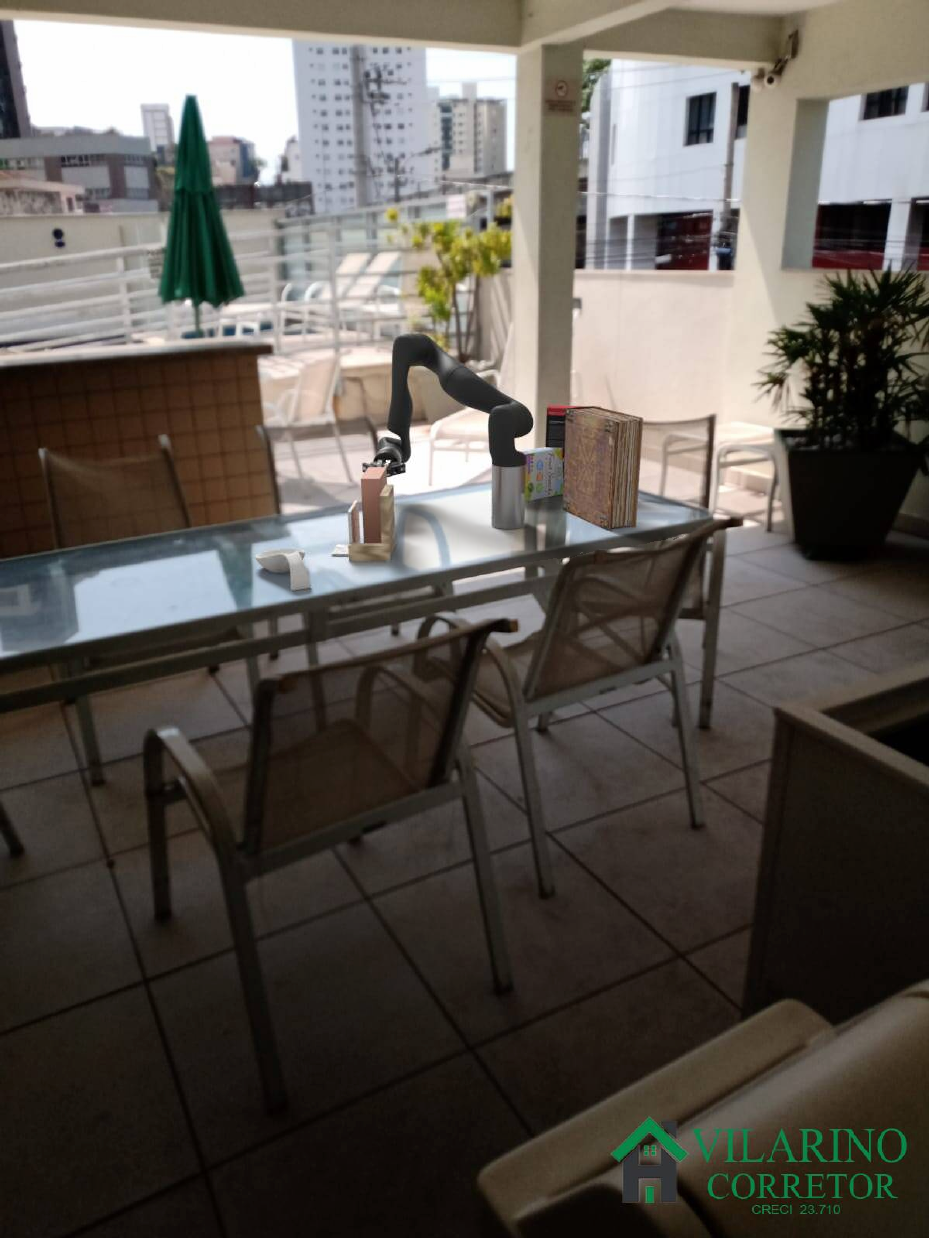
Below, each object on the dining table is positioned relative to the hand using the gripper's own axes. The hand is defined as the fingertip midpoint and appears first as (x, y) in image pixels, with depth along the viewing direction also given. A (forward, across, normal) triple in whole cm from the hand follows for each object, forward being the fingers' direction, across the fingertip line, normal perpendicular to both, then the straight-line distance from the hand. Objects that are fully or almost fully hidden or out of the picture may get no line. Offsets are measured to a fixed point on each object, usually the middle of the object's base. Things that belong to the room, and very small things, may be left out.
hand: (380, 475), depth 246 cm
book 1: (+13, 0, +14) cm, 20 cm away
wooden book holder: (+25, +1, +14) cm, 29 cm away
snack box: (-34, +44, +14) cm, 58 cm away
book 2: (-10, +61, +14) cm, 64 cm away
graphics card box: (-41, +56, +14) cm, 70 cm away
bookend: (+24, -6, +14) cm, 29 cm away
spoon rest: (+43, -17, +15) cm, 49 cm away
